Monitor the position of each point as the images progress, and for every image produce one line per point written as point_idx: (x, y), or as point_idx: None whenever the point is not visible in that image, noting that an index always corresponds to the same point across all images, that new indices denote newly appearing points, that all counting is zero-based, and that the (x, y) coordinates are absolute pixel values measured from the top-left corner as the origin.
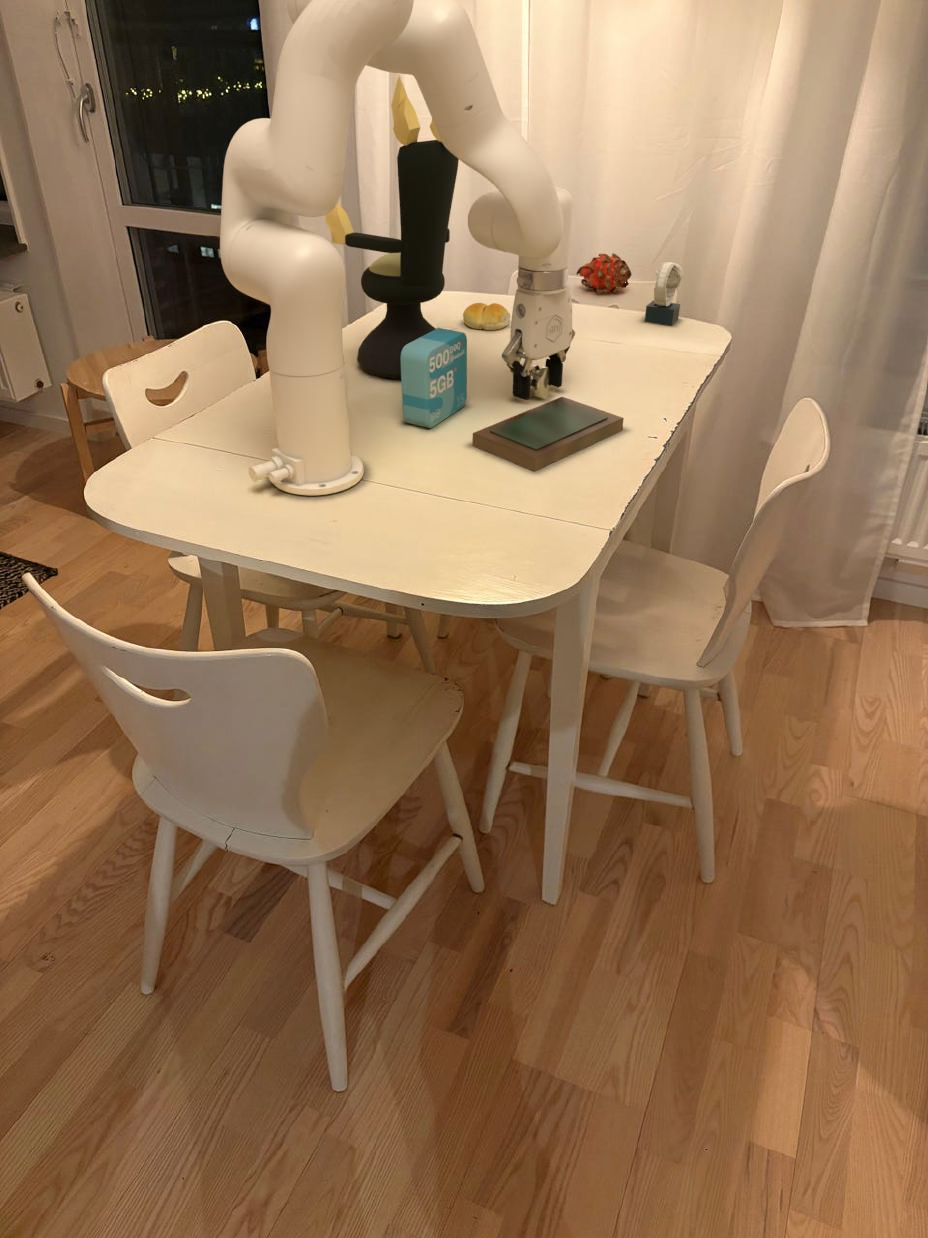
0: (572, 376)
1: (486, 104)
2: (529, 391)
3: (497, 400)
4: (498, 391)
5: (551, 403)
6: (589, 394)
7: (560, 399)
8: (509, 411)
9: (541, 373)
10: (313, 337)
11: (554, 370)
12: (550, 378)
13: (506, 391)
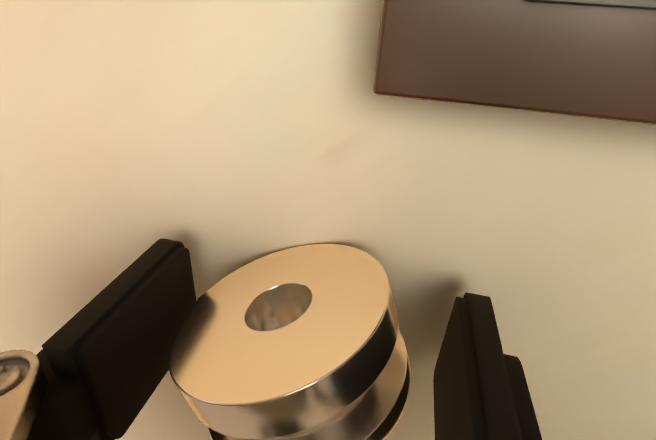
0: (16, 268)
1: None
2: (475, 329)
3: None
4: None
5: (611, 67)
6: (66, 69)
7: (455, 57)
8: (622, 309)
9: (326, 393)
10: None
11: (133, 342)
12: (203, 314)
13: None
